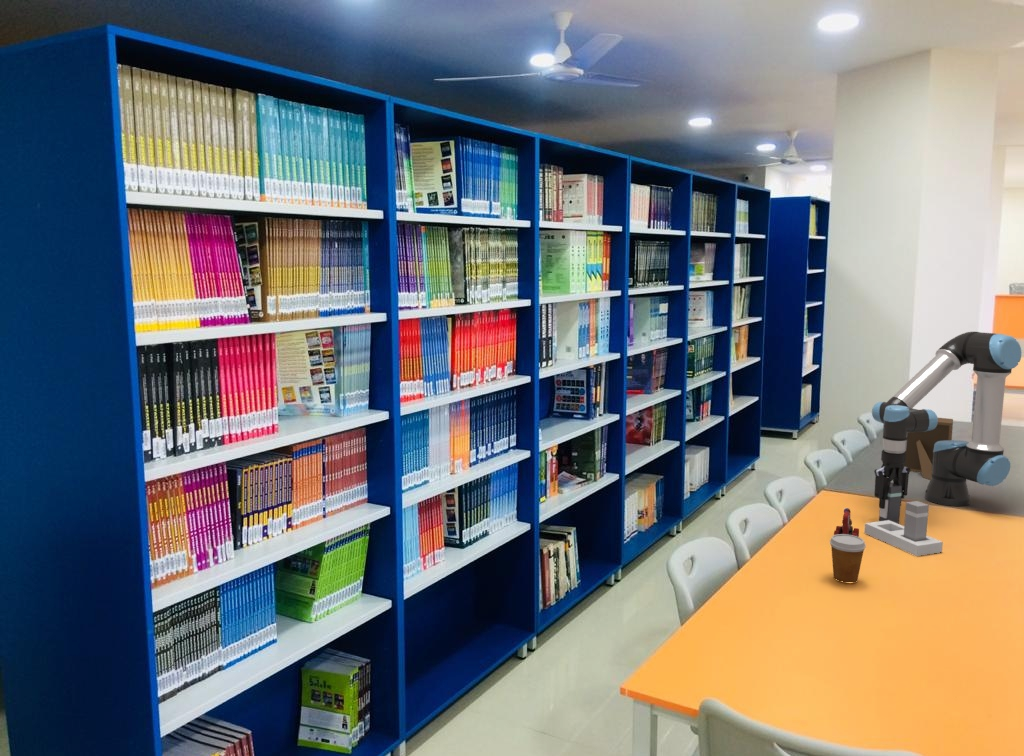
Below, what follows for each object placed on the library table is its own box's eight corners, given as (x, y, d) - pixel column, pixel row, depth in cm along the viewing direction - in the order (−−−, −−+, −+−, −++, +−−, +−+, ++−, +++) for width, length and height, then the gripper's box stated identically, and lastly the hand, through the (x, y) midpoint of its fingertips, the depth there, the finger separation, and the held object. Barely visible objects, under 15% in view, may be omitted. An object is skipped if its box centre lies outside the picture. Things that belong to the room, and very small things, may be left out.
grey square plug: (914, 542, 252) (917, 500, 250) (925, 547, 248) (929, 505, 246) (902, 544, 251) (905, 502, 249) (914, 549, 246) (917, 506, 244)
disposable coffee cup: (847, 588, 219) (850, 547, 217) (820, 576, 227) (822, 536, 226) (870, 582, 223) (873, 541, 222) (843, 570, 232) (845, 531, 230)
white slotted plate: (888, 529, 266) (888, 520, 265) (941, 552, 245) (942, 542, 245) (864, 533, 263) (865, 523, 262) (916, 556, 242) (917, 545, 242)
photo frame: (893, 466, 346) (897, 411, 342) (949, 473, 334) (954, 416, 330) (888, 475, 333) (892, 417, 329) (946, 482, 322) (951, 423, 318)
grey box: (889, 521, 275) (891, 482, 273) (899, 525, 271) (902, 485, 269) (878, 522, 274) (881, 483, 271) (888, 526, 269) (891, 487, 267)
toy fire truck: (859, 537, 259) (861, 506, 258) (855, 549, 249) (857, 517, 247) (836, 533, 263) (838, 503, 261) (832, 545, 252) (834, 514, 250)
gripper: (905, 446, 274) (901, 510, 278) (865, 450, 269) (860, 515, 273) (922, 451, 267) (917, 517, 271) (881, 455, 262) (877, 522, 265)
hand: (889, 516), depth 272 cm, fingers closed on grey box, 4 cm apart
